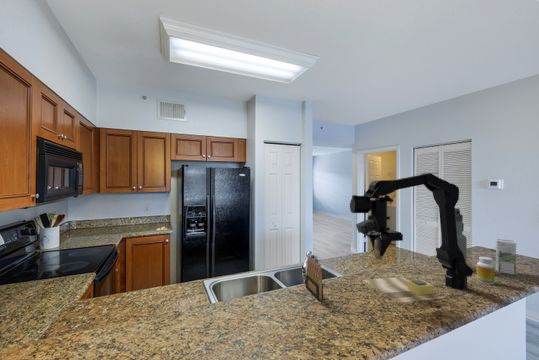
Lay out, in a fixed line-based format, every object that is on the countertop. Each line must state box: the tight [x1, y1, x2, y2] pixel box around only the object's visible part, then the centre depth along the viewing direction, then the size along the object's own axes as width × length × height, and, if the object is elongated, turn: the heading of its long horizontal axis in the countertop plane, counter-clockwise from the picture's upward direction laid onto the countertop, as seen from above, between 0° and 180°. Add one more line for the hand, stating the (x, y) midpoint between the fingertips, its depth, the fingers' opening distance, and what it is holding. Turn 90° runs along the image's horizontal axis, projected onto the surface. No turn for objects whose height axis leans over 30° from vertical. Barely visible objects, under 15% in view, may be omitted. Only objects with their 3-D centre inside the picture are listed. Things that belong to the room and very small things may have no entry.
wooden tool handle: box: [373, 239, 384, 261], centre depth 93 cm, size 3×3×7 cm
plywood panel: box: [363, 276, 444, 304], centre depth 90 cm, size 18×19×1 cm
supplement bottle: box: [476, 256, 496, 285], centre depth 99 cm, size 5×5×10 cm
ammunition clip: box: [305, 255, 324, 301], centre depth 87 cm, size 11×2×12 cm, turn 14°
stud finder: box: [407, 279, 434, 295], centre depth 87 cm, size 6×5×4 cm
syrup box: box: [495, 238, 517, 276], centre depth 111 cm, size 6×6×14 cm
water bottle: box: [440, 207, 468, 265], centre depth 118 cm, size 10×10×28 cm
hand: (378, 254), depth 93 cm, fingers closed on wooden tool handle, 3 cm apart
